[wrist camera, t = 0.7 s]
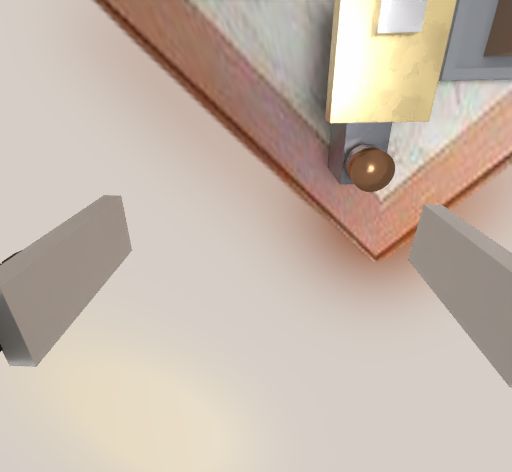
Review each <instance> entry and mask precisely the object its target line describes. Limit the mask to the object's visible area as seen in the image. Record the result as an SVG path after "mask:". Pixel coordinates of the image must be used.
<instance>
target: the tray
mask: <svg viewBox="0 0 512 472" xmlns="http://www.w3.org/2000/svg"><path fill="white" fill-rule="evenodd" d="M479 79H512V0H457V1H456V5H455V10H454V14H453V18H452V23H451V27H450V32H449V36H448V40H447V45H446V49H445V54H444V58H443V62H442V67H441V71H440V76H439V80H479Z"/></svg>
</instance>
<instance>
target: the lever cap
mask: <svg viewBox="0 0 512 472" xmlns="http://www.w3.org/2000/svg"><path fill="white" fill-rule="evenodd" d="M456 1H457V0H335V1H334V14H333V26H332V39H331V51H330V64H329V76H328V89H327V101H326V114H325V120H326V121H328V122H329V123H365V122H428V121H429V120H430V115H431V111H432V106H433V102H434V98H435V93H436V89H437V84H438V80H439V76H440V71H441V67H442V62H443V58H444V54H445V49H446V45H447V40H448V36H449V32H450V27H451V23H452V18H453V14H454V10H455V5H456Z"/></svg>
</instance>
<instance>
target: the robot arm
mask: <svg viewBox="0 0 512 472" xmlns="http://www.w3.org/2000/svg"><path fill="white" fill-rule="evenodd" d="M131 251H132V249H131V244H130V238H129V234H128V228H127V223H126V218H125V213H124V208H123V203H122V198H121V196H108V195H104V196H102V197H101V198H99V199H98V200H96V201H95V202H93V203H92V204H90V205H89V206H87V207H86V208H85V209H83V210H82V211H80V212H79V213H77V214H76V215H74V216H73V217H71V218H70V219H68V220H67V221H65V222H64V223H62V224H61V225H59V226H58V227H56V228H55V229H53V230H52V231H50V232H49V233H48V234H46V235H44V236H43V237H42V238H40V239H38V240H37V241H35V242H34V243H32V244H31V245H30V246H28V247H27V248H25V249H24V250H21V251H19V252H17V253H15V254H13V255H12V256H10V257H9V258H7V259H6V260H4V261H3V262H2V264H0V352H1V351H3V353H4V355H5V357H6V359H7V361H8V363H9V365H11V366H33V367H36V366H37V365H38V364H39V363H40V361H41V360H42V359H43V358H44V357H45V355H46V354H47V353H48V352H49V351H50V349H51V348H52V347H53V346H54V344H55V343H56V342H57V341H58V340H59V338H60V337H61V336H62V335H63V334H64V332H65V331H66V330H67V329H68V327H69V326H70V325H71V324H72V323H73V321H74V320H75V319H76V318H77V316H78V315H79V314H80V313H81V312H82V310H83V309H84V308H85V307H86V306H87V304H88V303H89V302H90V301H91V300H92V298H93V297H94V296H95V295H96V293H97V292H98V291H99V290H100V288H101V287H102V286H103V285H104V284H105V283H106V281H107V280H108V279H109V277H110V276H111V275H112V274H113V273H114V272H115V270H116V269H117V268H118V267H119V265H120V264H121V263H122V262H123V261H124V259H125V258H126V257H127V256H128V254H129V253H130V252H131ZM408 260H409V261H410V263H411V264H412V265H413V266H414V268H415V269H416V270H417V271H418V273H419V274H420V275H421V276H422V278H423V279H424V280H425V281H426V283H427V284H428V285H429V287H430V288H431V289H432V290H433V291H434V293H435V294H436V295H437V297H438V298H439V299H440V300H441V302H442V303H443V304H444V305H445V307H446V308H447V309H448V310H449V312H450V313H451V314H452V315H453V317H454V318H455V319H456V320H457V322H458V323H459V324H460V325H461V327H462V328H463V329H464V330H465V332H466V333H467V334H468V335H469V336H470V338H471V339H472V340H473V342H474V343H475V344H476V345H477V347H478V348H479V349H480V350H481V351H482V353H483V354H484V355H485V356H486V358H487V359H488V360H489V362H490V363H491V364H492V365H493V367H494V368H495V369H496V370H497V372H498V373H499V374H500V375H501V377H502V378H503V379H504V380H505V382H506V383H507V384H508V385H509V387H512V253H511V252H509V251H508V250H506V249H505V248H503V247H502V246H501V245H499V244H498V243H496V242H495V241H493V240H492V239H490V238H489V237H487V236H486V235H485V234H483V233H482V232H480V231H479V230H477V229H476V228H475V227H473V226H472V225H470V224H469V223H467V222H466V221H464V220H463V219H461V218H460V217H459V216H457V215H456V214H454V213H453V212H451V211H450V210H449V209H447V208H446V207H444V206H443V205H424V206H423V210H422V213H421V216H420V220H419V223H418V227H417V230H416V234H415V237H414V241H413V244H412V248H411V251H410V255H409V258H408Z"/></svg>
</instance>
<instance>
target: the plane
mask: <svg viewBox="0 0 512 472" xmlns="http://www.w3.org/2000/svg"><path fill="white" fill-rule="evenodd" d="M391 126H392V122H365V123H332V125H331V136H330V147H329V158H328V168H329V169H330V171H331V172H332V174H333V175H334V176H335V178H336V179H337V180H338V182H339V183H340V184H355V185H356V186H357V187H358V188H359V189H361V190H363V191H366V192H374V191H378V190H380V189H382V188H384V187H385V186H386V185H388V184H389V182H390V181H391V180H392V178H393V176H394V172H395V164H394V161H393V159H392V158H391V156H390V155H388V154H387V149H388V143H389V137H390V132H391Z"/></svg>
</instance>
